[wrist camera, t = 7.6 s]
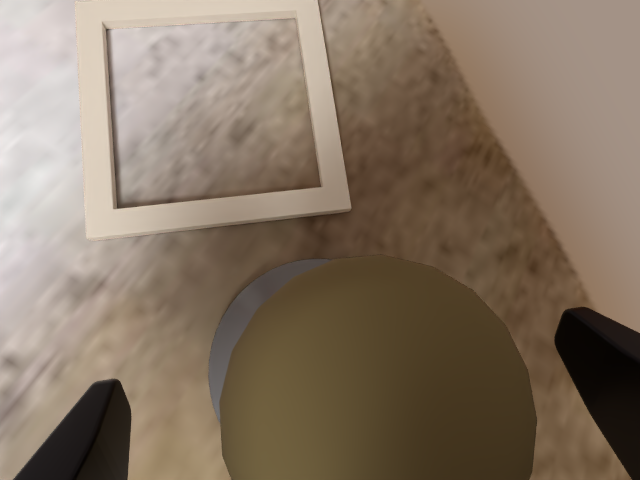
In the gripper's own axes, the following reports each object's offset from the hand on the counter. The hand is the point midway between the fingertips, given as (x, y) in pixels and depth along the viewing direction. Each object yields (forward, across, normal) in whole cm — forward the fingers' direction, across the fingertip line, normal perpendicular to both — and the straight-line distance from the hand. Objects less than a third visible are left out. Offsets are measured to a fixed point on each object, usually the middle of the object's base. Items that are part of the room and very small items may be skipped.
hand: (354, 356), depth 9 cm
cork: (+5, 0, +6) cm, 8 cm away
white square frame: (+13, +3, -1) cm, 14 cm away
